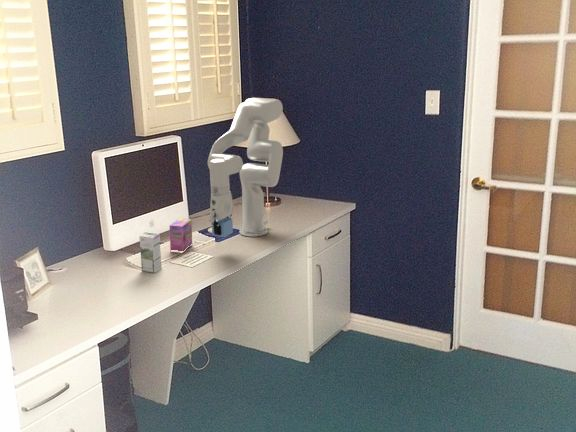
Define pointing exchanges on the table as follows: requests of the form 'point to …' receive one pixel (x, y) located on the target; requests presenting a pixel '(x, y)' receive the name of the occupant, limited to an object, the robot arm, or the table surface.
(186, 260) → the letter
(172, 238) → the box
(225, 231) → the blue cube
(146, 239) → the syrup box
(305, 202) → the table surface
